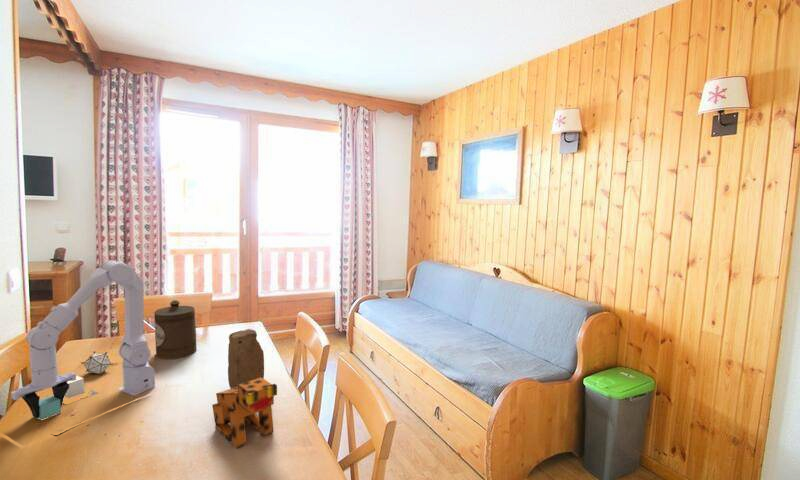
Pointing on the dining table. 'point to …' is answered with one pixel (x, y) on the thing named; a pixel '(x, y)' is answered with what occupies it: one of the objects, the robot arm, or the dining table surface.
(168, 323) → the wooden container
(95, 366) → the game die
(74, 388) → the cream brick
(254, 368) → the block
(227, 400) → the toy animal
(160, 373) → the dining table surface
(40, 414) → the teal brick
